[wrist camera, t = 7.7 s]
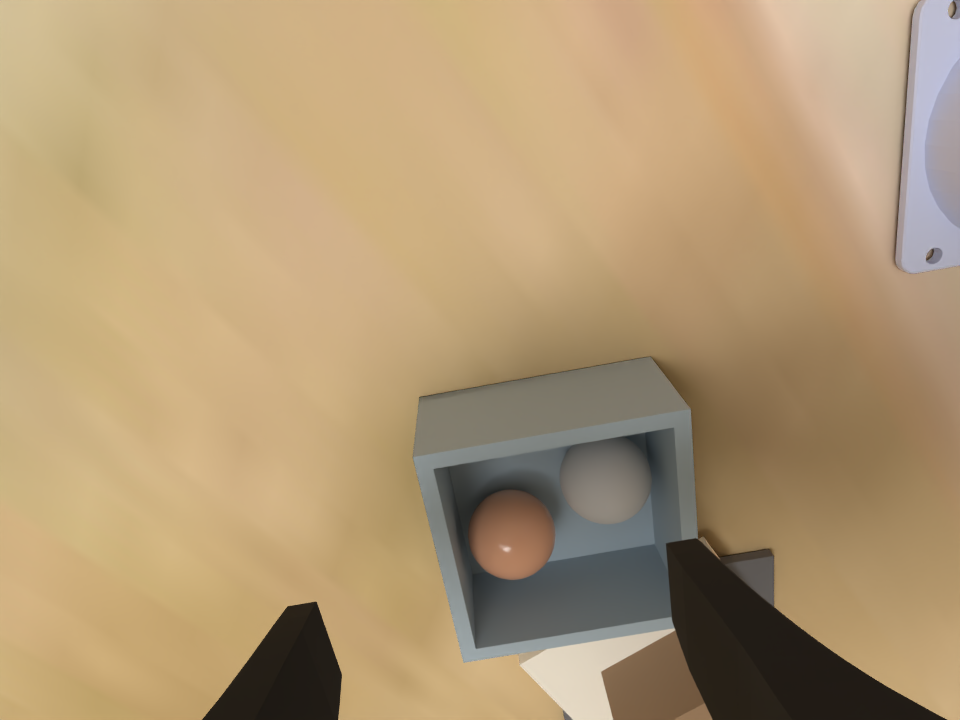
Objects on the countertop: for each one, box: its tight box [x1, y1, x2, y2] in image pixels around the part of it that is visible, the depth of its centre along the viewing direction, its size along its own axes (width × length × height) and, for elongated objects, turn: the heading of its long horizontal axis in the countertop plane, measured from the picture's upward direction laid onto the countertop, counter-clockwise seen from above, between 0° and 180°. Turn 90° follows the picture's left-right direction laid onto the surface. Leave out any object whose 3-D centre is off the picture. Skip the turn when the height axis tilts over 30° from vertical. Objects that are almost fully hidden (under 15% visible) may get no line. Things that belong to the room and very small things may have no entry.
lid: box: [518, 537, 720, 720], centre depth 25 cm, size 9×9×4 cm
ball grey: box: [560, 436, 652, 524], centre depth 21 cm, size 3×3×3 cm
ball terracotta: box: [468, 489, 556, 580], centre depth 22 cm, size 3×3×3 cm
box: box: [413, 357, 698, 663], centre depth 22 cm, size 8×8×4 cm
